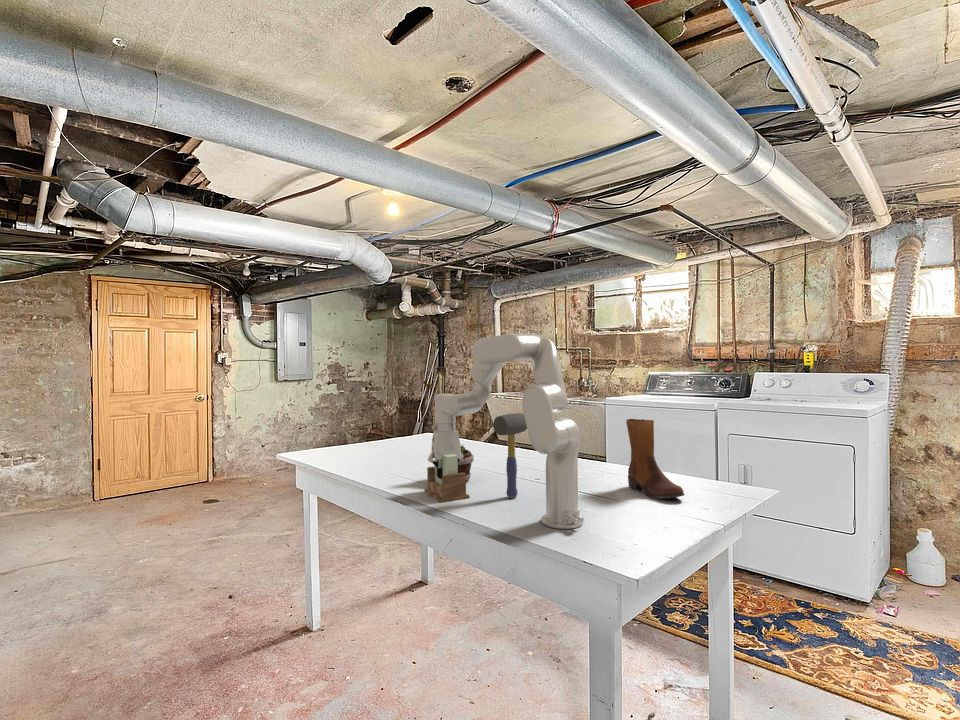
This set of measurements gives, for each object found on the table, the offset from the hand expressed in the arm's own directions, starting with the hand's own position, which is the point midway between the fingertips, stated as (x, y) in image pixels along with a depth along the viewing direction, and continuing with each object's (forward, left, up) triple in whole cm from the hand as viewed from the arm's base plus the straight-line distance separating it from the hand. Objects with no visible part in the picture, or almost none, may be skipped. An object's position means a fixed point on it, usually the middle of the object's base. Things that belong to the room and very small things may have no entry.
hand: (446, 477), depth 184 cm
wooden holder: (0, 0, -6) cm, 6 cm away
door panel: (0, 0, -3) cm, 3 cm away
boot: (-36, -66, -7) cm, 75 cm away
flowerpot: (+16, -11, -7) cm, 21 cm away
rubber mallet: (-15, -19, -7) cm, 25 cm away
